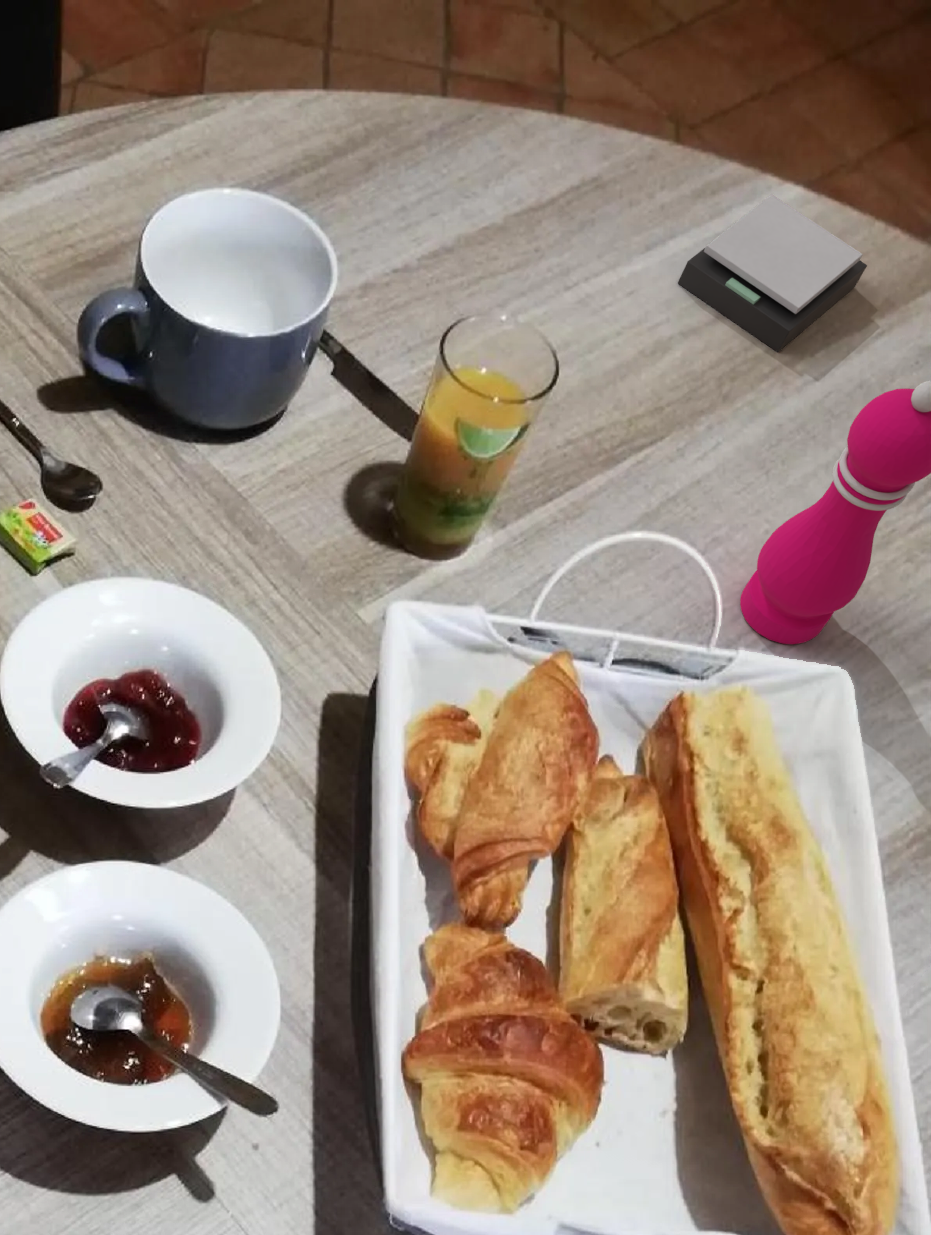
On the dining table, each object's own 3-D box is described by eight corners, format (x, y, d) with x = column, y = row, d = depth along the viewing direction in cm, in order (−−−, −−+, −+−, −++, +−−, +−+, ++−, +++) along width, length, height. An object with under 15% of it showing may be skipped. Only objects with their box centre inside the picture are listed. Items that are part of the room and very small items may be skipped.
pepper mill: (772, 556, 121) (922, 324, 103) (850, 616, 120) (1016, 392, 101) (712, 605, 119) (853, 377, 101) (790, 667, 117) (948, 447, 99)
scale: (854, 286, 133) (875, 251, 130) (777, 352, 129) (797, 317, 127) (755, 220, 135) (773, 184, 132) (677, 283, 132) (693, 247, 129)
